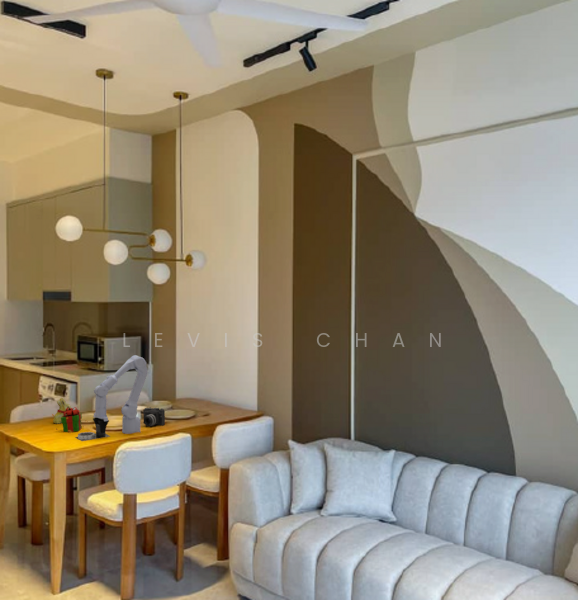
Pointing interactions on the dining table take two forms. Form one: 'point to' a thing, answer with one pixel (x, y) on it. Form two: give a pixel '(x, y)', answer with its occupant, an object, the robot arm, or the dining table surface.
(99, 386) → the robot arm
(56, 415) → the chocolate bunny
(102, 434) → the dark grey block
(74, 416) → the gift wrap
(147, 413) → the camera
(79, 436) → the lens mount
